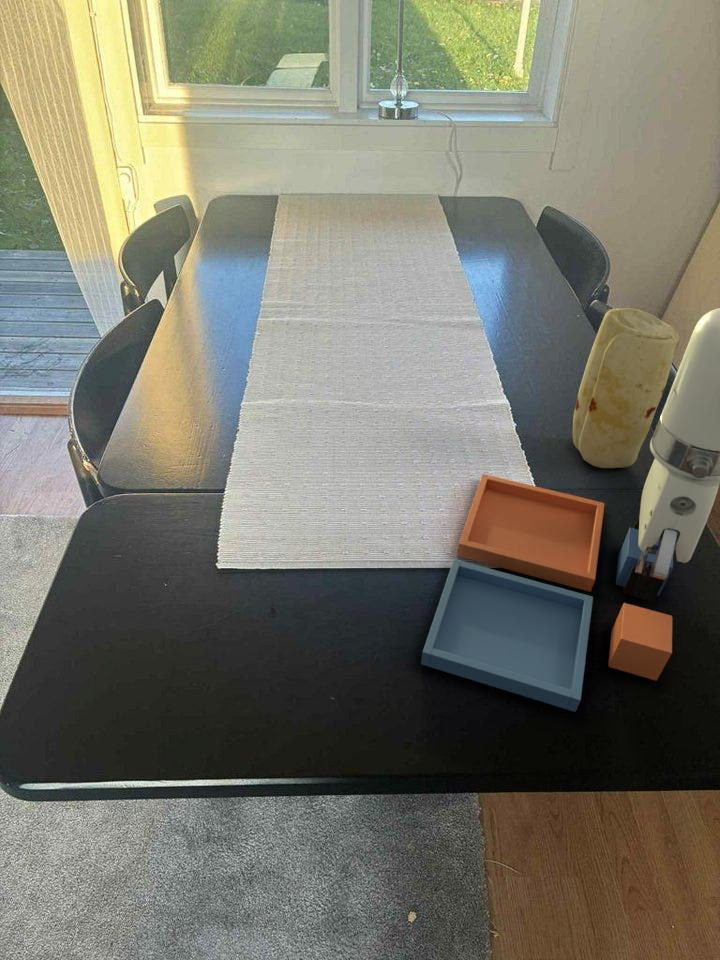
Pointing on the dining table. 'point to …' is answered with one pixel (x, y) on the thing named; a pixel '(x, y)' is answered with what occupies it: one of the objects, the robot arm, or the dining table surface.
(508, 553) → the terracotta tray
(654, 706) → the dining table surface
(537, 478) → the dining table surface
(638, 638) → the terracotta block
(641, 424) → the food model
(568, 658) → the blue tray
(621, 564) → the blue block
